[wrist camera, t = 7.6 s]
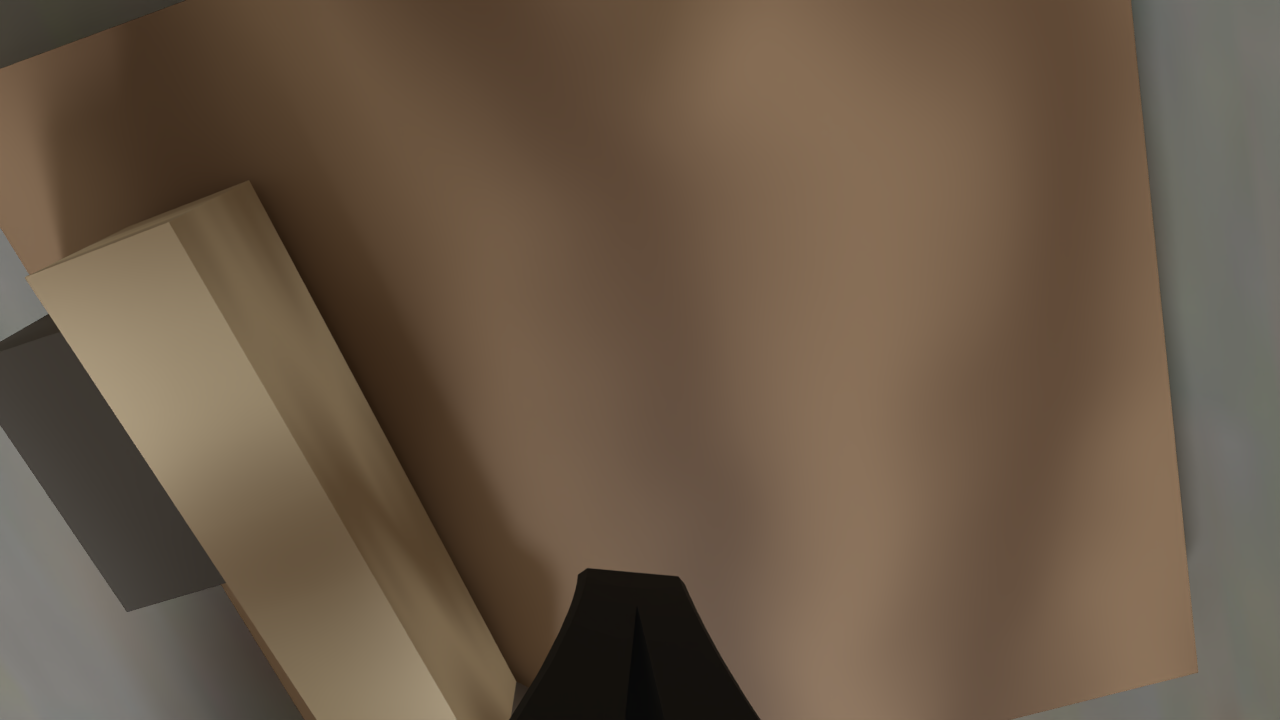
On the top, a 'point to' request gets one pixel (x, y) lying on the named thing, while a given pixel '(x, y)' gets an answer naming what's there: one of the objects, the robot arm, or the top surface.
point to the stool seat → (676, 316)
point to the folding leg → (277, 461)
